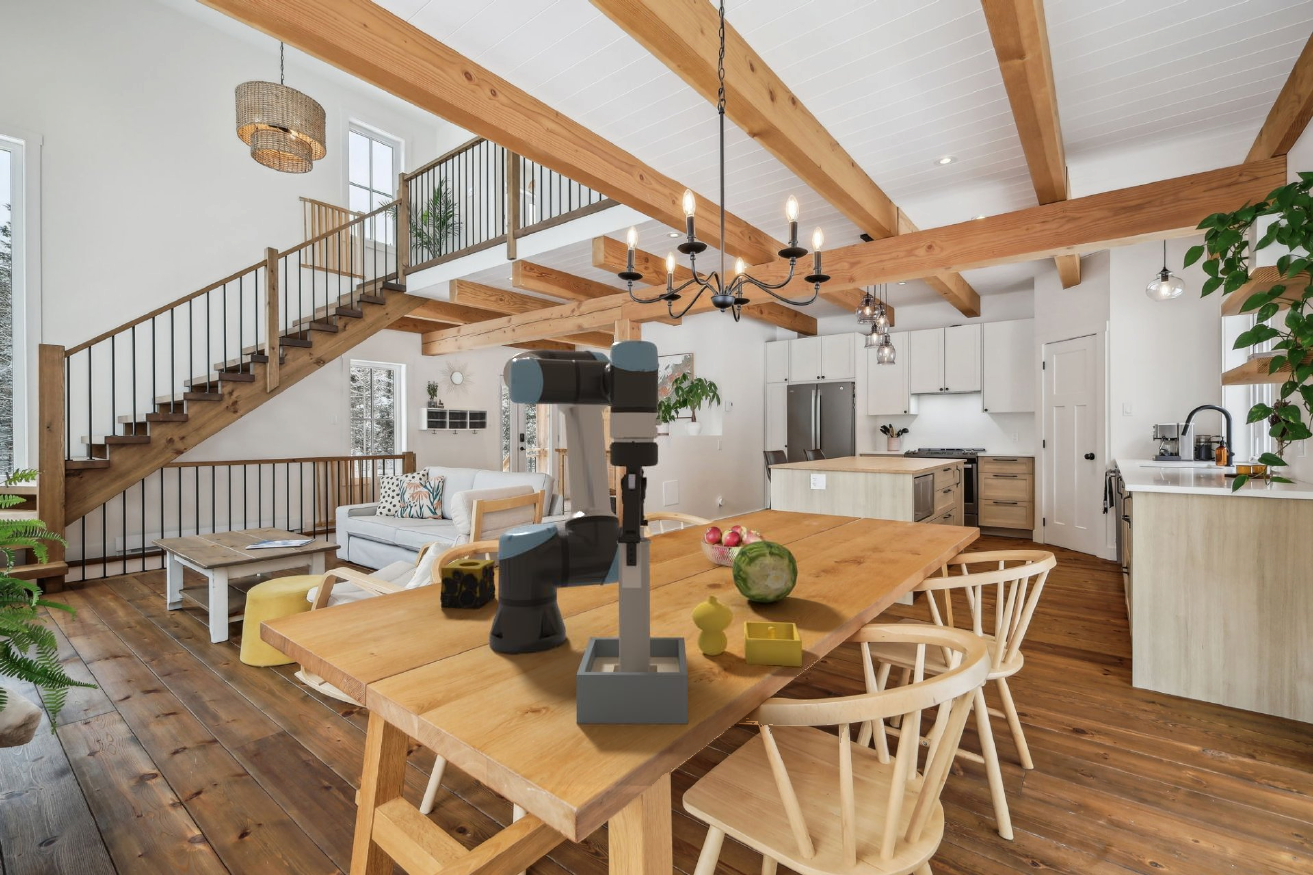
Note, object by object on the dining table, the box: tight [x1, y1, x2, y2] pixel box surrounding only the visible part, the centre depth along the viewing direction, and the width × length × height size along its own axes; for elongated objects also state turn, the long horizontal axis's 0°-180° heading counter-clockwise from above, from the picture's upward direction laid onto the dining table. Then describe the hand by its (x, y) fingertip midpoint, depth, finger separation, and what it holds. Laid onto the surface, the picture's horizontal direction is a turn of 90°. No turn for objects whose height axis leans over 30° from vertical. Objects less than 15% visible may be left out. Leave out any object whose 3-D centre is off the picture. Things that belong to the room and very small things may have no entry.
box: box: [575, 636, 689, 725], centre depth 94 cm, size 16×16×7 cm
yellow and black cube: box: [439, 558, 496, 610], centre depth 148 cm, size 10×10×10 cm
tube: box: [617, 536, 652, 672], centre depth 94 cm, size 5×5×25 cm
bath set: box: [691, 595, 803, 668], centre depth 113 cm, size 20×10×11 cm, turn 84°
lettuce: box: [732, 540, 799, 603], centre depth 146 cm, size 16×21×15 cm
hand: (634, 575), depth 94 cm, fingers open, 13 cm apart
